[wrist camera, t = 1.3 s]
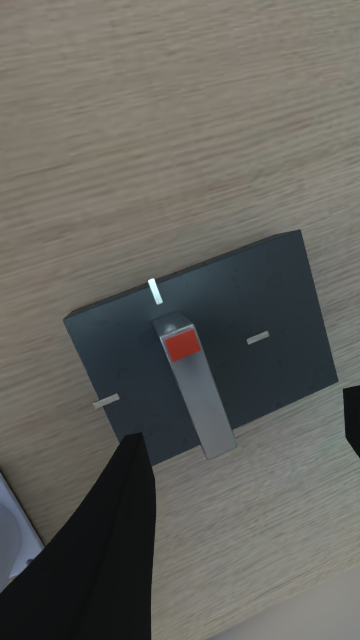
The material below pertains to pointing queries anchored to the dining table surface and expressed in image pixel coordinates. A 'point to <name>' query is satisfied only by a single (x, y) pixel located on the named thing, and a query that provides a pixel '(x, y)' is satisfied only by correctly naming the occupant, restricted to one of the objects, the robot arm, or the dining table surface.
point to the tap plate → (209, 342)
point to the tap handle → (195, 383)
